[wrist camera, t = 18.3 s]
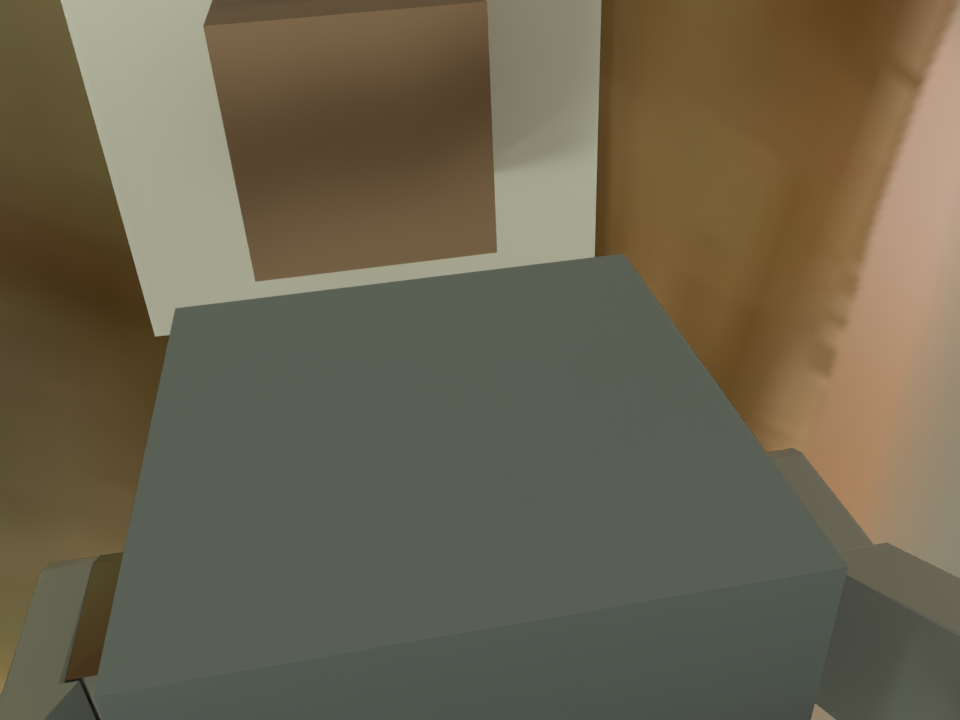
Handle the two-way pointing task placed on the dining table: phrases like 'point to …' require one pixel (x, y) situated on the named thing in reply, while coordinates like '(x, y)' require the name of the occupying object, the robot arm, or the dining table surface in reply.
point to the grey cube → (460, 516)
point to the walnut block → (356, 130)
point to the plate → (208, 171)
